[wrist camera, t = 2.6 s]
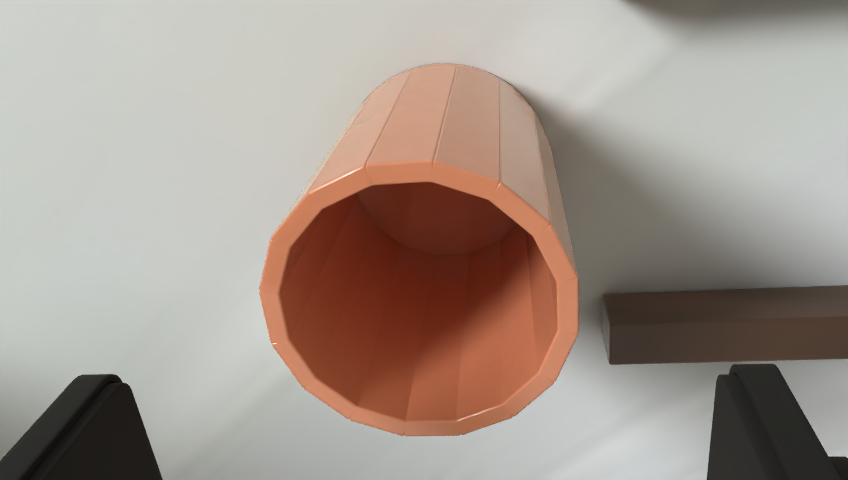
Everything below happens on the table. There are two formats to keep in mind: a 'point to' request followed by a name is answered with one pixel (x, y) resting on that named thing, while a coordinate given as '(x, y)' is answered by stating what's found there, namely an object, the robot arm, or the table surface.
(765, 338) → the guide rails
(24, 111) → the table surface
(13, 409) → the table surface
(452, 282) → the peach cup
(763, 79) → the table surface
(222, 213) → the table surface
